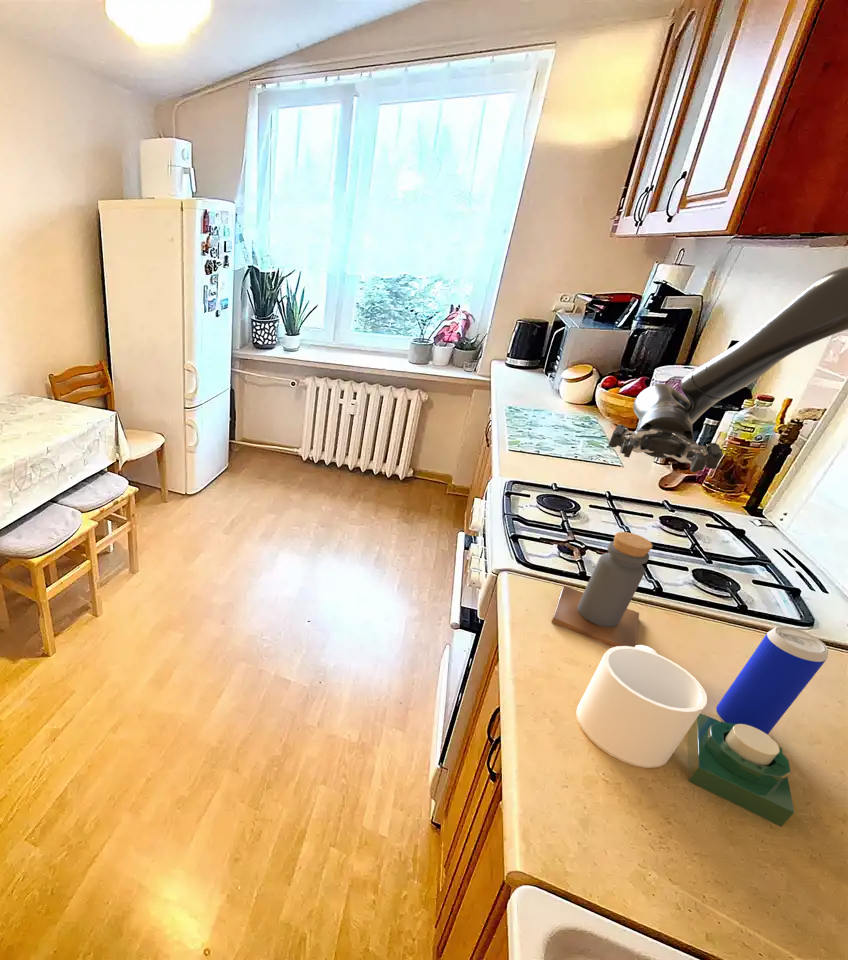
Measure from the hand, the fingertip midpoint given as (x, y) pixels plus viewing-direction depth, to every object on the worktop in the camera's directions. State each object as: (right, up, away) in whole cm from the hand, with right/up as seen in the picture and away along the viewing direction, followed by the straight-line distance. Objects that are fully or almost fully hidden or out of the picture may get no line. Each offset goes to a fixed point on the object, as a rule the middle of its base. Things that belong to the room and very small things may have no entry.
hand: (661, 459), depth 82 cm
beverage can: (-1, -36, -13) cm, 38 cm away
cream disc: (-8, -35, -21) cm, 42 cm away
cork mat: (-8, -27, +4) cm, 28 cm away
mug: (-18, -36, -14) cm, 42 cm away
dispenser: (-8, -39, -19) cm, 44 cm away
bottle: (-7, -26, +4) cm, 27 cm away
